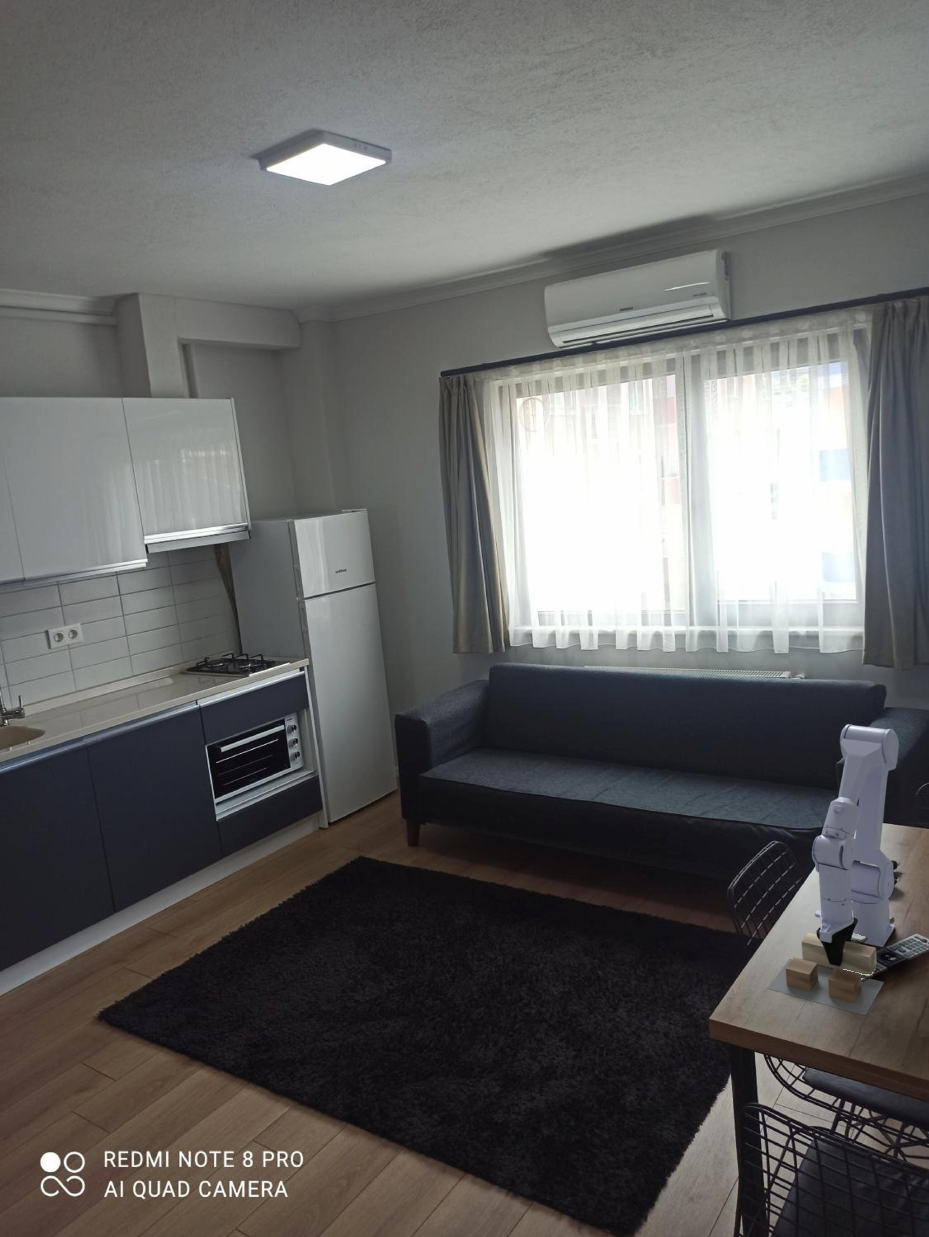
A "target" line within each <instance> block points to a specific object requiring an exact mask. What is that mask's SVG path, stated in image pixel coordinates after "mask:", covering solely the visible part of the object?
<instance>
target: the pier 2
mask: <svg viewBox="0 0 929 1237" xmlns="http://www.w3.org/2000/svg"><path fill="white" fill-rule="evenodd" d="M833 970H834V971H833V973H832V974H831V976H830V977H829V979H828V984H829V997H833V998H837V999H840V1000H844V1001H848V1002H852V1003H855V1001H856V999H857V998H858V996H859V994H860V993H861V977H862V975H861V974H859V973H855V972H851V971H847V970H843V969H839V968H835V969H833Z"/></svg>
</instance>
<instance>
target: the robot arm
mask: <svg viewBox="0 0 929 1237" xmlns="http://www.w3.org/2000/svg"><path fill="white" fill-rule="evenodd" d="M839 745H840V751H841V754H842V757H843V759H844V765H843V770H842V774H841V775H842V777H841V781H840V787H839V792H838V797H837V798H836V799H834V800H832V801H831V802H830V804H829V806H828V810H827V813H826V817H825V821H824V824H823V828H822V831H821V835H817V836H816V837H815V839H814V840H813V844H812V850H811V858H812V860H813V863H814V864H815V866H814V867H815V871H816V872H817V873H818V879H819V880H818V882H819V899H820V900H819V901H820V909H817V910H816V911H815V913H814V916H815V917H816V918H819V920H820V927H818V928H817V930H816V933H815V934H817V937H818V939H819V940H820V941H821V943H822V945H823V947H824V949H825V952H826V955H827V958H828V961H829V963H830V964H831V965H835V966H841V964H842V959H843V949H844V945H845V942H846V941H848V942H852V940H851V939H852V935H853V933H855V934H859V935H861V936H865V937H867V938H868V940H867V941H866V942H865V943H864V944H865V945H866V944H867V945H871V946H873V947H874V946H876V947H881V948H883V947H885V944H886V943H887V941H888V939H889V938H890V937H891V935H892V933H893V931H894V930H895V926H896V925H895V924H892V923H891V920H890V900H889V898H890V897H891V896H892V893H893V892H894V889H895V888H894V886H895V885H894V875H893V871H894V870H893V863H892V862H891V860H892V859H890V858H889V857H887V855H886V853H883V851H882V850H881V845H882V844H881V842H882V832H883V823H884V814H885V803H886V793H887V785H888V784H887V782H888V776H889V771H892V770H895V769H896V768H897V763H898V755H899V747H900V746H899V745H900V741H899V738H898V734H897V733H896V732H895V730H894V729H893V728H888V729H887V728H879V727H878V728H877V727H871V726H870V727H869V726H863V725H862V726H861V725H853V724H849V723H848V724H846V725H845V726H844V727H843V728H842V730H841V732H840V737H839ZM855 860H856V861H860V862H861V863H859V862H854V861H855ZM862 862H865V863H870V864H874V865H876V866H872V865H868V864H863V863H862ZM877 866H878V867H877Z"/></svg>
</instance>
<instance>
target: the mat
mask: <svg viewBox="0 0 929 1237" xmlns="http://www.w3.org/2000/svg"><path fill="white" fill-rule="evenodd" d="M792 959H793V958H789V959H788V960H787V962H786V963H785V964H784V966H783V967H782V968H781V970H779V972H778V973H777V975H776V976H775V978H774V979H773V980H772V981H771V983H770V984H769V986H768V987H767V990H770V991H775V992H777V993H778V992H779V993H782V994H786V995H790V996H793V997H797V998H800V999H804V1000H807V1001H811V1002H814V1003H818V1004H823V1005H826V1006H829V1007H833V1008H837V1009H840V1010H844V1011H847V1012H851V1013H855V1014H858V1015H862V1016H866V1015H867V1013H868V1012H869V1010H870V1009H871V1006H872V1005H873V1003H874V1001H875V999H876V998H877V996H878V994H879V992H880V991H881V989H882V987H883V985H884V983H885V982H884V981H881V980H876V979H872V978H869V979H868V980H866V981H864V982H861V993H860V994H859V996H858V998H857V999H856V1001H855V1003H852V1002H848V1001H844V1000H840V999H837V998H833V997H829V984H828V979H829V977H830V976H831V974H832V973H833V971H834V970H835V969H833V968H829V967H825V966H821V965H817V968H818V981H817V982H816V984H815V985H814V987H813V988H812V990H811V991H807V990H803V989H799V988H796V987H792V986H788V985H787V982H786V967H787V966H788V965H789V963H790V962H791V961H792Z"/></svg>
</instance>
